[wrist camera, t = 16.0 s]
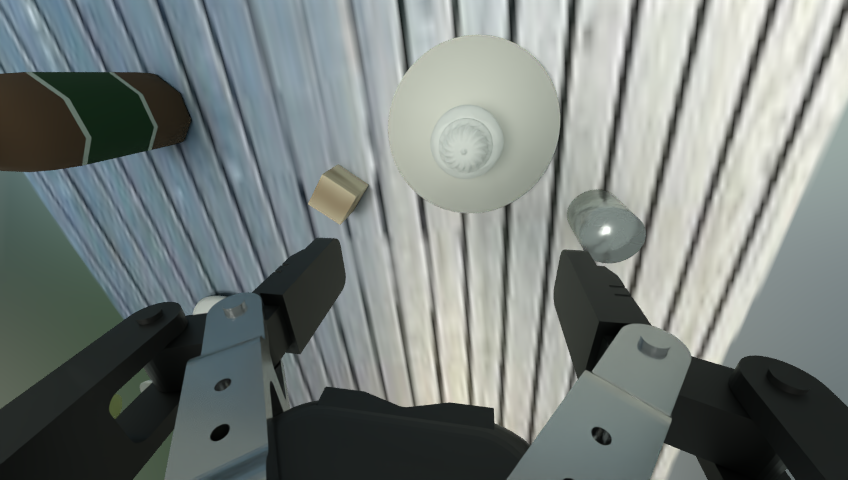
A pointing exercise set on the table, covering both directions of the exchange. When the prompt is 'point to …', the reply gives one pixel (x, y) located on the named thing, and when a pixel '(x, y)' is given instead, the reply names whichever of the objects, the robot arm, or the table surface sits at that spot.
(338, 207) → the brass block
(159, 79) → the beer bottle
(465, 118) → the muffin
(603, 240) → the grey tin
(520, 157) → the white bowl
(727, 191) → the table surface
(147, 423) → the robot arm
